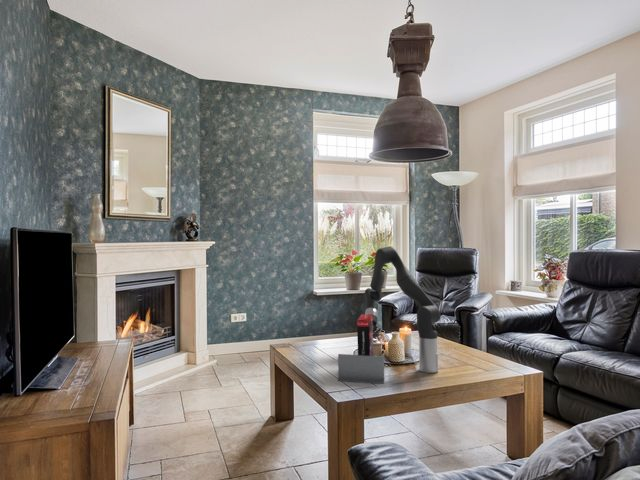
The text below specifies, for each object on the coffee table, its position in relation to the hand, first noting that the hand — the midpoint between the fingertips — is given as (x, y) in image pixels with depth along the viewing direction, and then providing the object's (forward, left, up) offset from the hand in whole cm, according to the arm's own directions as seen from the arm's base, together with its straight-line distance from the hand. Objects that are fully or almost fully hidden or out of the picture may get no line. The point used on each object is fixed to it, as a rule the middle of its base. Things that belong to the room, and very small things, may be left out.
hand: (368, 343), depth 259 cm
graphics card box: (0, +16, -10) cm, 19 cm away
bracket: (0, +31, -10) cm, 32 cm away
